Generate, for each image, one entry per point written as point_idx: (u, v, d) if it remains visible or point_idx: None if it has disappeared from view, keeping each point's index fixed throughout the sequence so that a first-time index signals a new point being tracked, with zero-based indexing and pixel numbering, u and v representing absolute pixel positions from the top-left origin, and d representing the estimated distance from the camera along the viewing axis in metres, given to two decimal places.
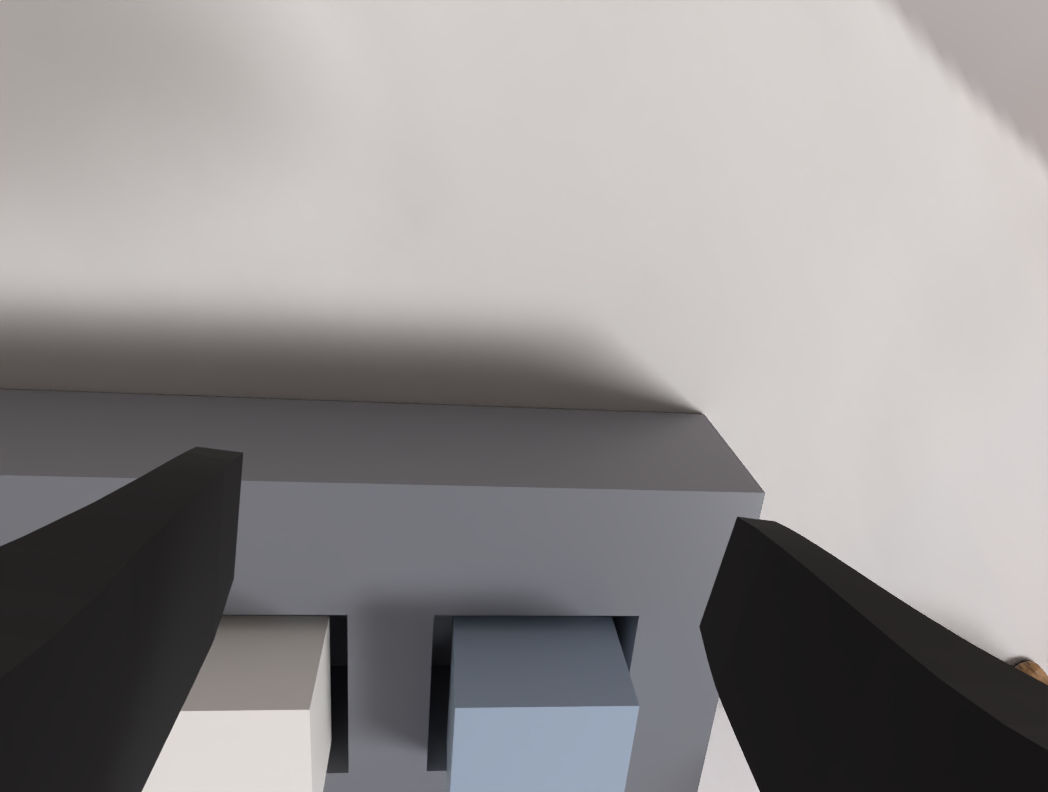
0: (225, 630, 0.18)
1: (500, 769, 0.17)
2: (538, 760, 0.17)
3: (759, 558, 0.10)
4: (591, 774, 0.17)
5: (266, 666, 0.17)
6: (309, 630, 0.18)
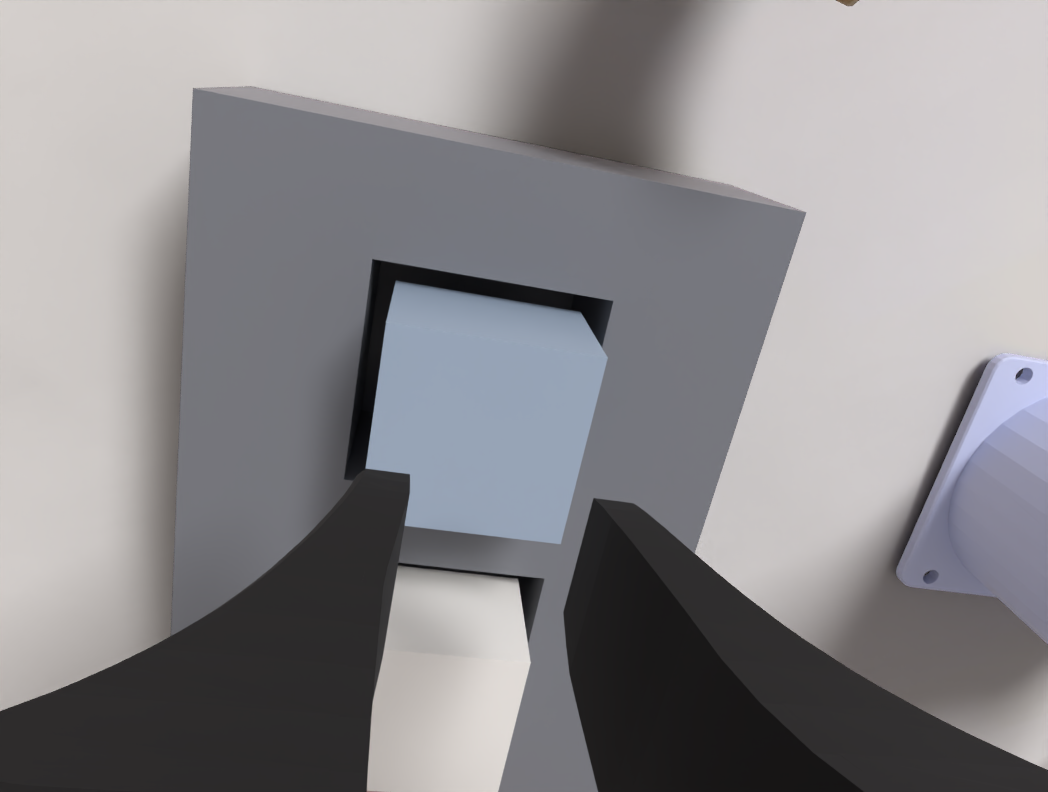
0: None
1: (459, 482, 0.15)
2: (453, 441, 0.14)
3: (604, 539, 0.10)
4: (490, 383, 0.14)
5: None
6: None
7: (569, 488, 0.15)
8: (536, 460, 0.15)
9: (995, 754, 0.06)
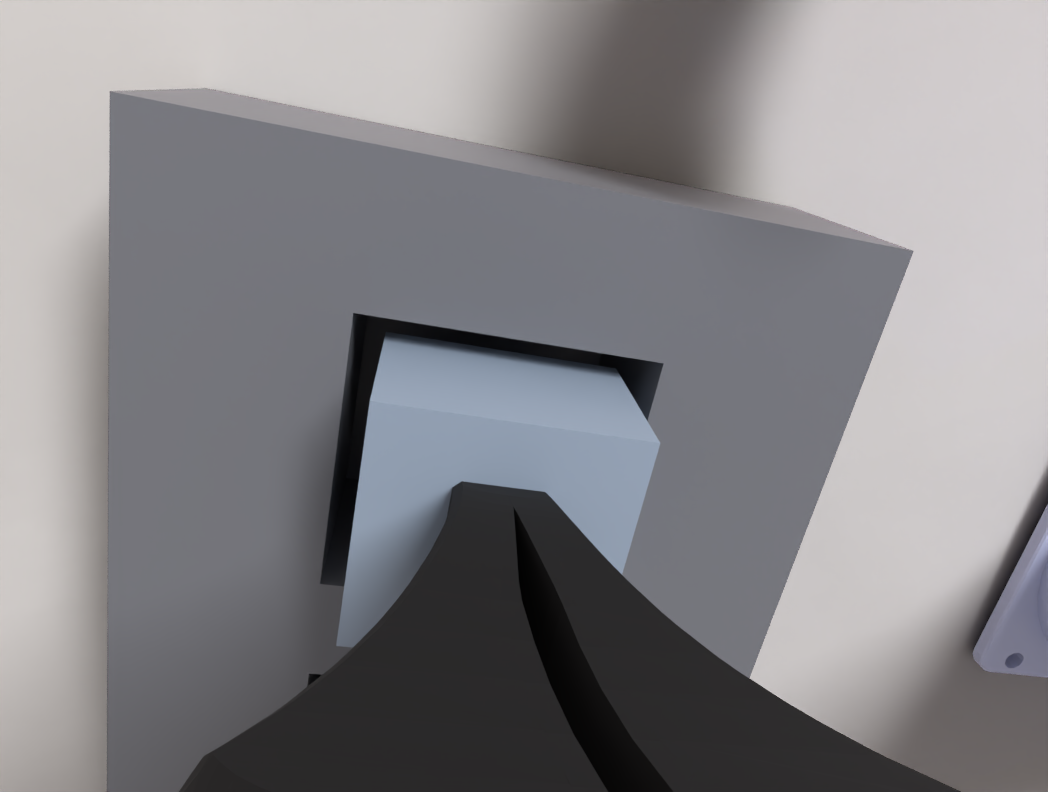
0: None
1: None
2: None
3: None
4: (507, 477, 0.11)
5: None
6: None
7: None
8: None
9: (836, 741, 0.05)
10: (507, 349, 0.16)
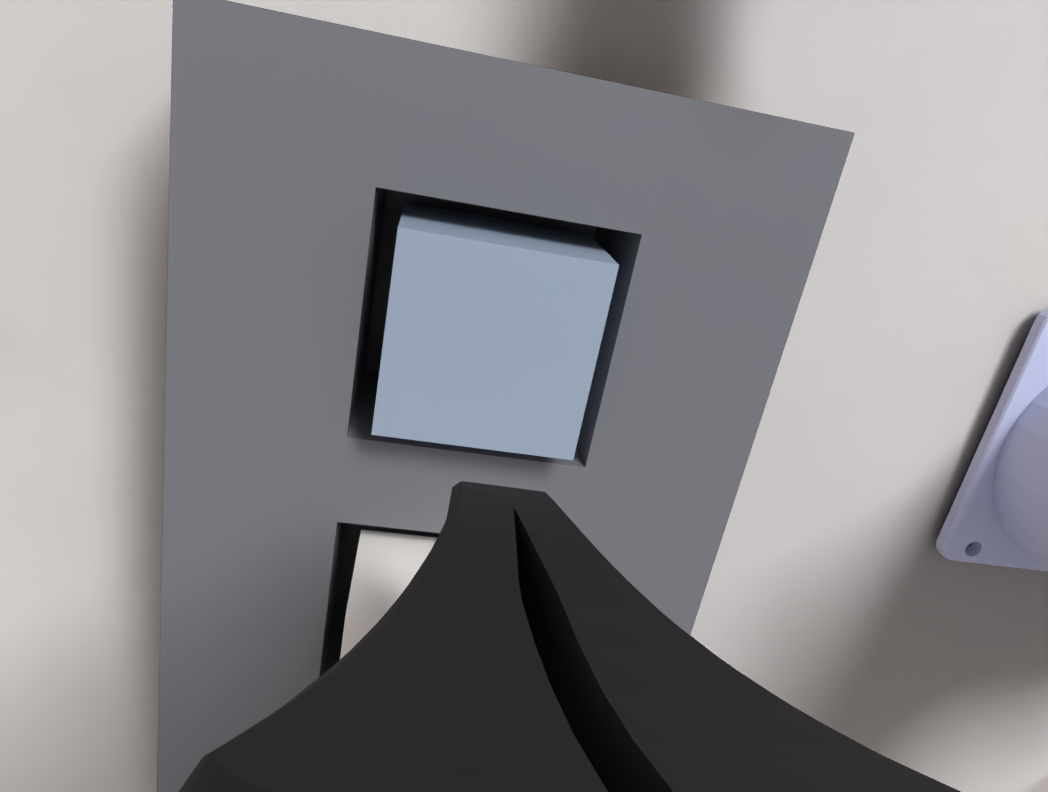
0: None
1: (471, 396, 0.15)
2: (466, 352, 0.14)
3: None
4: (502, 292, 0.14)
5: None
6: None
7: (581, 401, 0.15)
8: (548, 372, 0.15)
9: (836, 741, 0.05)
10: None
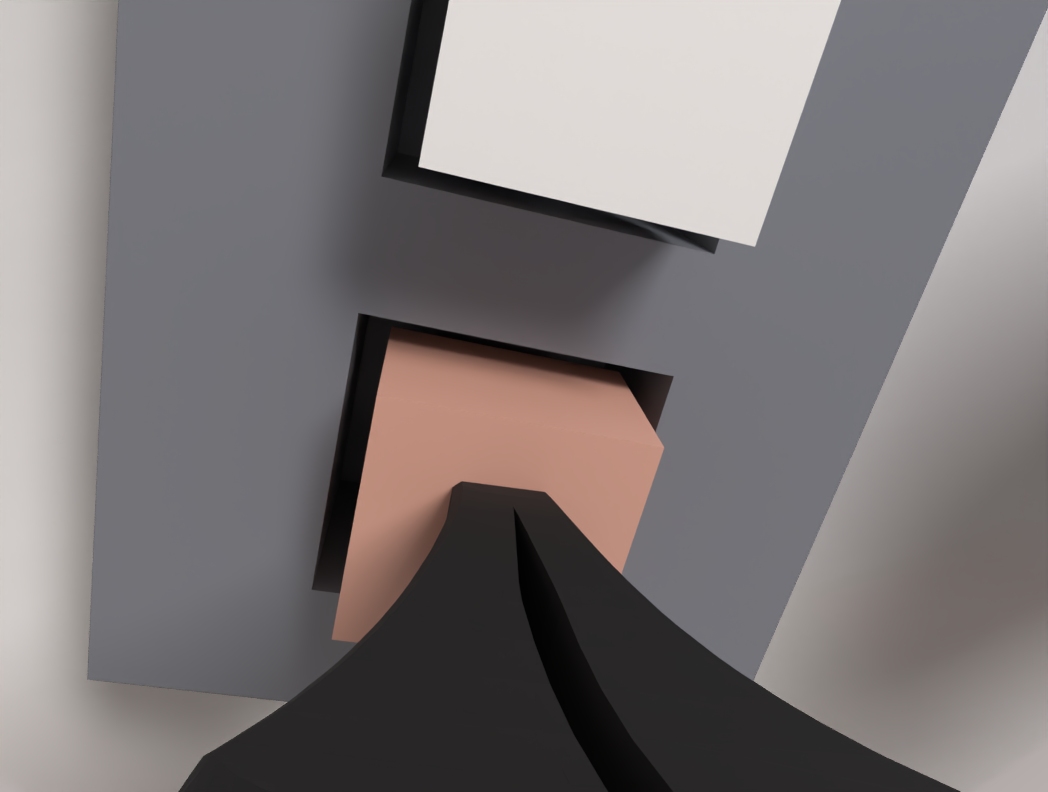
0: None
1: None
2: None
3: None
4: None
5: None
6: None
7: None
8: None
9: (836, 741, 0.05)
10: None
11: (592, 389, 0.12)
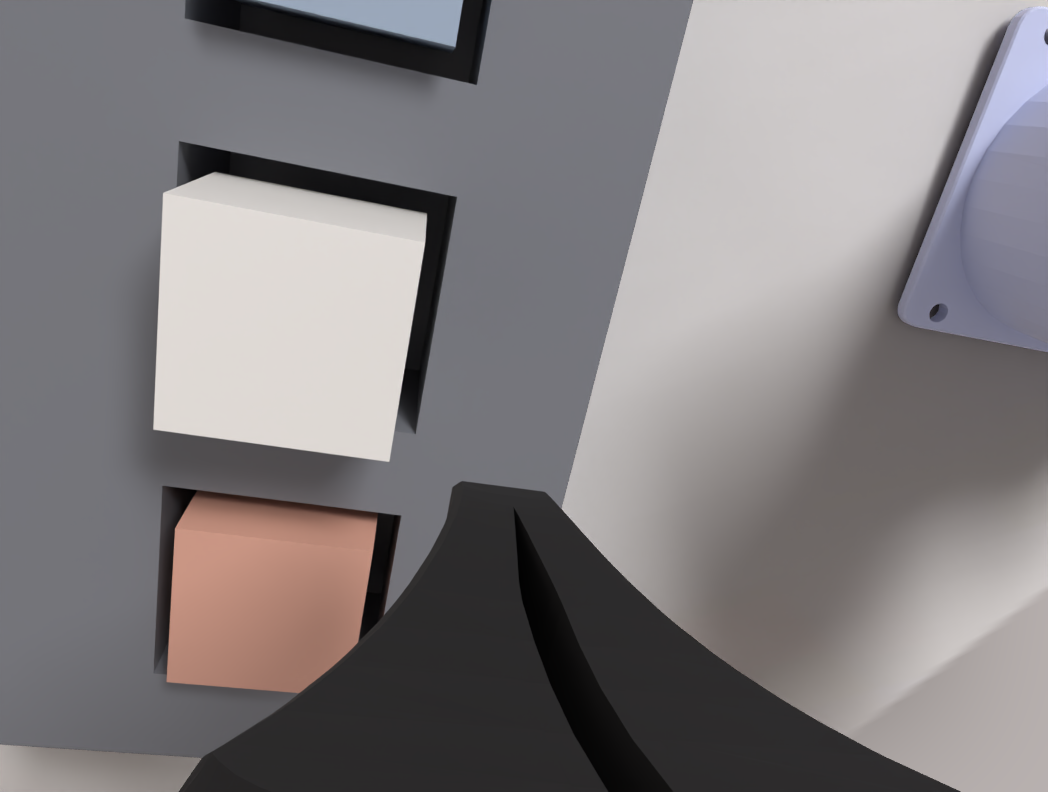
0: None
1: None
2: None
3: None
4: None
5: None
6: None
7: None
8: None
9: (836, 741, 0.05)
10: None
11: None
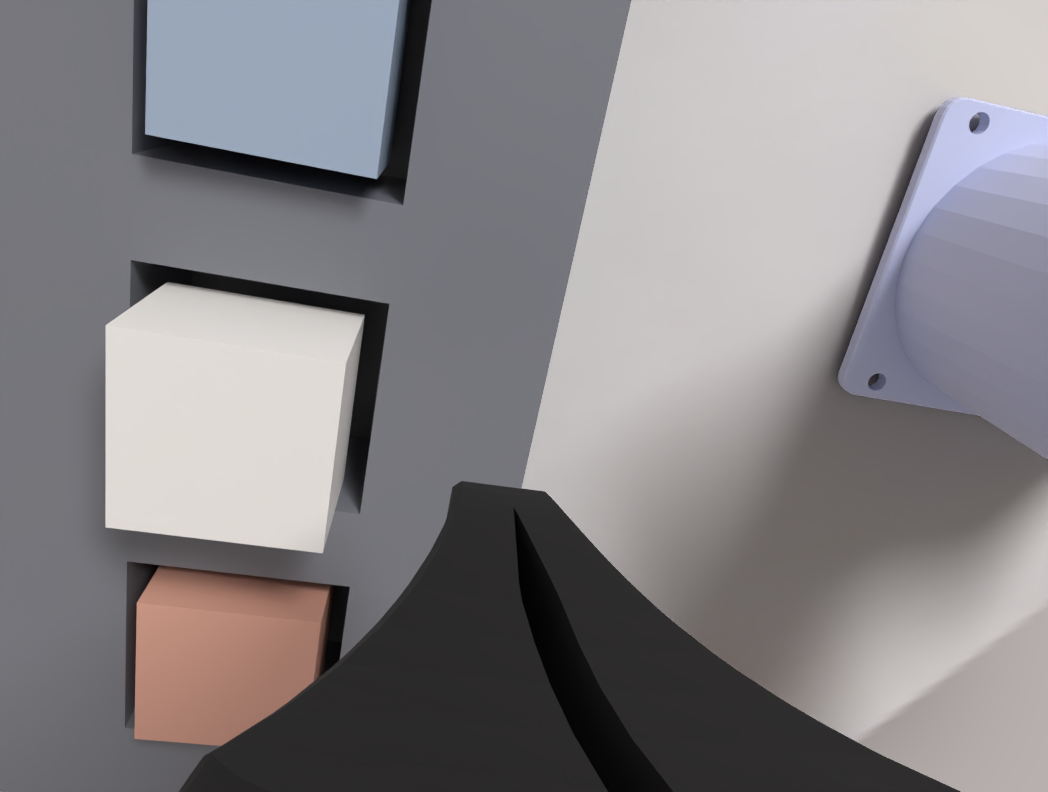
0: None
1: (254, 90, 0.13)
2: (243, 35, 0.13)
3: None
4: None
5: None
6: None
7: (379, 103, 0.13)
8: (339, 64, 0.13)
9: (836, 741, 0.05)
10: None
11: None
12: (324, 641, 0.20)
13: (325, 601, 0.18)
